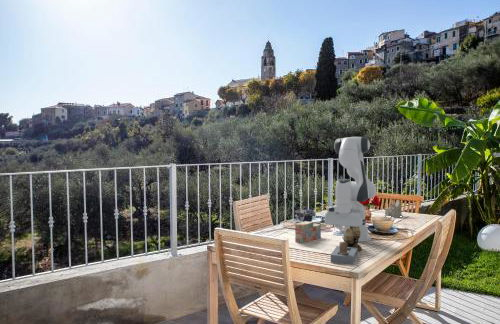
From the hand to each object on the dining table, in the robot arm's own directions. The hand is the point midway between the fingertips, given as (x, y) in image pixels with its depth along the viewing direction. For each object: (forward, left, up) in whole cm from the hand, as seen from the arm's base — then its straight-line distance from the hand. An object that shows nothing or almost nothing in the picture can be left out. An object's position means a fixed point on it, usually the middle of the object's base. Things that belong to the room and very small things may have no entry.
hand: (343, 233), depth 218 cm
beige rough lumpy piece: (-25, +1, -15) cm, 29 cm away
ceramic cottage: (-150, +21, -15) cm, 152 cm away
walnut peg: (0, 0, -15) cm, 15 cm away
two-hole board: (-5, 0, -15) cm, 16 cm away
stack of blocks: (-40, -29, -15) cm, 52 cm away
